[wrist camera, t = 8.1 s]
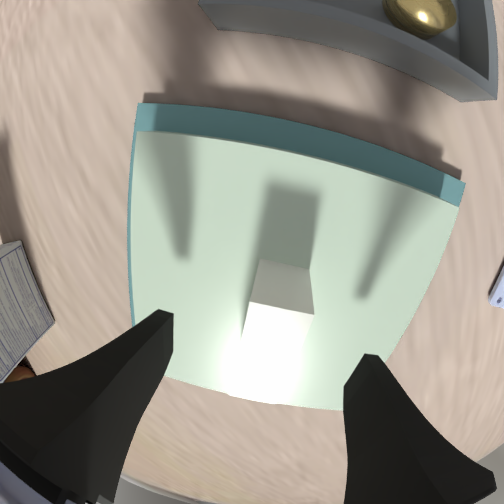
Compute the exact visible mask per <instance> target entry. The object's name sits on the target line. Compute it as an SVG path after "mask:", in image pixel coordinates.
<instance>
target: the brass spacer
mask: <svg viewBox="0 0 504 504" xmlns="http://www.w3.org/2000/svg"><path fill="white" fill-rule="evenodd" d="M382 6H383V10H384V12H385V14H386V16H387V18H388V19H389V20H390V22H391V23H392V24H393V25H394V26H395V27H396V28H398V29H400V30H402V31H405V32H407V33H409V34H411V35H413V36H415V37H417V38H420V39H422V40H428V39H431V38H433V37H435V36H436V35H438V34H440V33H442V32H443V31H445V30H447V29H449V28H451V27H452V26H454V24H455V23H456V20H457V14H456V10H455V7H454V5H453V3H452V1H451V0H382Z"/></svg>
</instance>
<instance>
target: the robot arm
mask: <svg viewBox="0 0 504 504" xmlns="http://www.w3.org/2000/svg"><path fill="white" fill-rule="evenodd" d="M488 302H489V303H490V304H491V305H492V306H496V307H500V308H504V266H503V268H502V271H501V273H500V275H499V277H498V279H497V281H496V283H495V286H494V288H493V290H492V292H491V293H490V295H489V298H488ZM173 329H174V313H171V312H167V311H164V310H161V309H158V310H156V311H154V312H153V313H152V314H150V315H149V316H147V317H146V318H145V319H143V320H142V321H140V322H139V323H138V324H136V325H135V326H133V327H132V328H131V329H129V330H128V331H126V332H125V333H123V334H122V335H120V336H119V337H117V338H116V339H114V340H113V341H111V342H109V343H108V344H106V345H104V346H103V347H101V348H99V349H98V350H96V351H94V352H92V353H91V354H89V355H87V356H85V357H83V358H81V359H79V360H77V361H75V362H73V363H70V364H68V365H66V366H63V367H61V368H58V369H55V370H53V371H50V372H47V373H44V374H41V375H38V376H34V377H30V378H26V379H22V380H17V381H12V382H5V383H0V504H85V502H86V503H88V504H96V502H99V503H101V504H113V503H114V498H115V494H116V490H117V486H118V482H119V478H120V475H121V471H122V468H123V465H124V461H125V459H126V456H127V453H128V450H129V447H130V444H131V441H132V439H133V436H134V433H135V431H136V428H137V425H138V423H139V421H140V419H141V417H142V415H143V413H144V411H145V409H146V408H147V406H148V404H149V402H150V400H151V398H152V396H153V395H154V393H155V391H156V389H157V387H158V385H159V383H160V382H161V380H162V378H163V376H164V374H165V372H166V369H167V367H168V364H169V362H170V359H171V356H172V354H173ZM343 414H344V424H345V433H346V444H347V456H348V468H347V483H346V491H345V499H344V504H474V503H476V502H478V501H479V500H481V499H483V498H485V497H487V496H488V495H490V494H491V493H493V492H495V491H496V489H497V487H496V482H495V478H494V474H493V472H492V471H490V470H488V469H486V468H485V467H483V466H481V465H479V464H477V463H476V462H474V461H473V460H471V459H470V458H468V457H467V456H466V455H464V454H463V453H462V452H460V451H459V450H458V449H456V448H455V447H454V446H453V445H452V444H451V443H450V442H448V441H447V440H446V439H445V438H444V437H443V436H442V435H441V434H440V433H439V432H438V431H437V430H436V429H435V428H434V427H433V426H432V425H431V424H430V423H429V421H428V420H427V419H426V418H425V417H424V416H423V414H422V413H421V412H420V411H419V409H418V408H417V407H416V406H415V404H414V403H413V402H412V400H411V399H410V398H409V396H408V395H407V394H406V392H405V391H404V390H403V388H402V387H401V385H400V384H399V383H398V381H397V380H396V378H395V377H394V376H393V374H392V373H391V371H390V370H389V369H388V367H387V366H386V365H385V363H384V362H383V361H382V359H381V358H380V357H379V356H378V355H374V354H366V353H364V355H363V357H362V358H361V360H360V362H359V363H358V365H357V366H356V368H355V370H354V371H353V373H352V374H351V376H350V377H349V379H348V380H347V382H346V383H345V385H344V386H343Z"/></svg>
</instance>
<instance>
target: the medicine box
mask: <svg viewBox="0 0 504 504" xmlns="http://www.w3.org/2000/svg"><path fill="white" fill-rule="evenodd" d="M54 324H55V321H54V319H53V317H52V316H51V314H50V312H49V309H48V307H47V305H46V303H45V301H44V299H43V297H42V295H41V292H40V290H39V288H38V285H37V283H36V281H35V278H34V276H33V273H32V271H31V268H30V265H29V263H28V260H27V257H26V254H25V251H24V248H23V245H22V242H21V241H15V242H10V243H6V244H2V245H0V383H3V382H4V380H5V379H6V378H7V377H8V375H9V374H10V373H11V372H12V370H13V369H14V368H15V367H16V366H17V365H18V363H19V362H20V361H21V360H22V359H23V358H24V356H25V355H26V354H27V353H28V352H29V351H30V350H31V349H32V347H33V346H34V345H35V344H36V343H37V342H38V341H39V340H40V339H41V337H42V336H43V335H44V334H45V333H46V332H47V331H48V330H49V329H50V328H51V327H52V326H53V325H54Z"/></svg>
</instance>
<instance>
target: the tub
mask: <svg viewBox="0 0 504 504" xmlns="http://www.w3.org/2000/svg"><path fill="white" fill-rule="evenodd" d="M451 1H452V3H453V5H454V7H455V10H456V14H457V20H456V23H455V24H454V26H452V27H451V28H449V29H447V30H445V31H443V32H442V33H440V34H438V35H436V36H435V37H433V38H431V39H428V40H422V39H420V38H417V37H415V36H413V35H411V34H409V33H407V32H405V31H402V30H400V29H398V28H396V27H395V26H394V25H393V24H392V23H391V22H390V20H389V19H388V18H387V16H386V14H385V12H384V10H383V6H382V0H199V2H198V5H199V6H200V7H201V8H202V10H203V11H204V12H205V13H206V15H207V16H208V17H209V19H210V20H211V21H212V22H213V24H214V25H215V26H216V28H217V29H218V30H230V31H244V32H254V33H262V34H270V35H276V36H283V37H288V38H294V39H299V40H304V41H309V42H313V43H317V44H321V45H325V46H329V47H333V48H337V49H340V50H344V51H347V52H350V53H353V54H356V55H360V56H363V57H365V58H368V59H371V60H374V61H377V62H379V63H382V64H385V65H387V66H390V67H392V68H394V69H397V70H399V71H402V72H404V73H406V74H408V75H411V76H413V77H415V78H417V79H419V80H421V81H423V82H425V83H427V84H429V85H431V86H433V87H435V88H437V89H439V90H441V91H442V92H444V93H446V94H448V95H449V96H451V97H453V98H455V99H456V100H458V101H460V102H470V101H485V100H497V93H498V48H497V34H496V25H495V17H494V11H493V5H492V0H451Z"/></svg>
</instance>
